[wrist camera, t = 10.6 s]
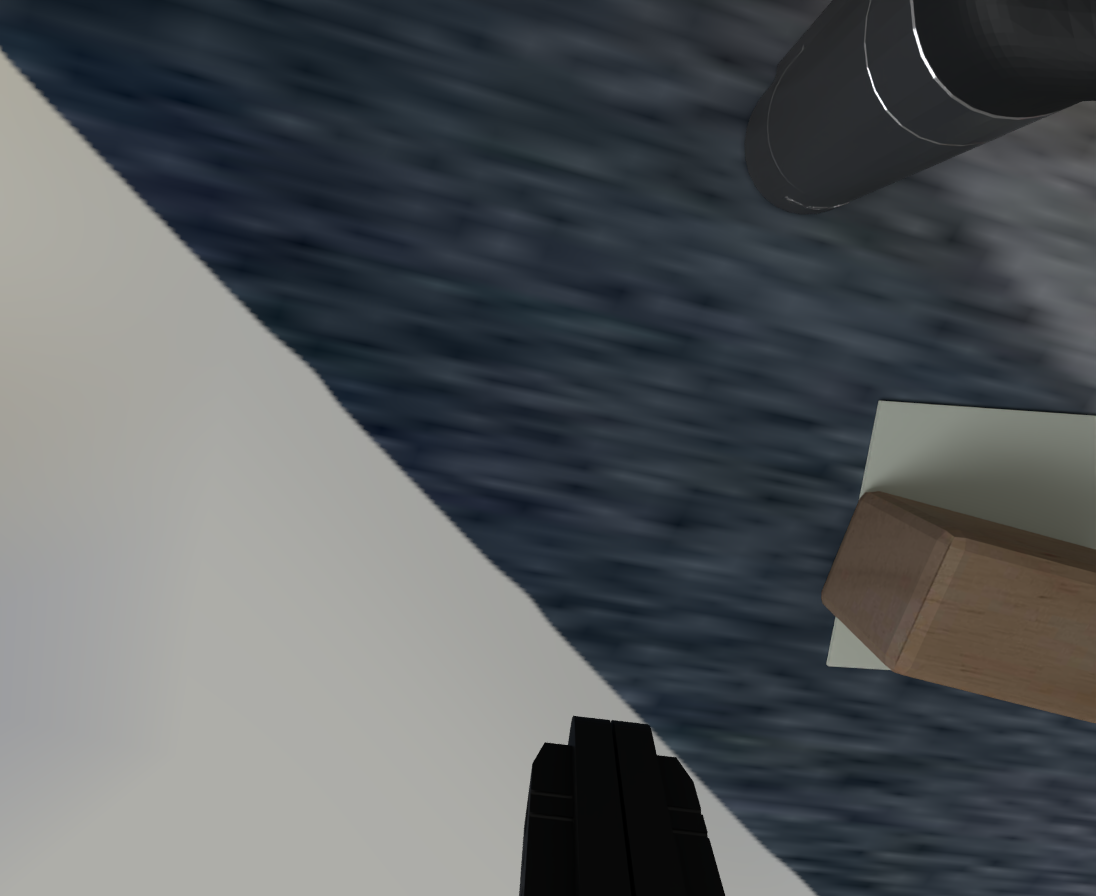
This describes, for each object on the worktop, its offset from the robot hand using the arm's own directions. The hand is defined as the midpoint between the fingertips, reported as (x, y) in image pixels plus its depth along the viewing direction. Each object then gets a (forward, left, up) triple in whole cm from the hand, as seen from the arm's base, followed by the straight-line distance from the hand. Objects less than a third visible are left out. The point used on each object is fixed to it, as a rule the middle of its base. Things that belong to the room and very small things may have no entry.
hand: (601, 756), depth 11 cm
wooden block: (+7, +22, -26) cm, 34 cm away
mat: (+6, +34, -31) cm, 47 cm away
